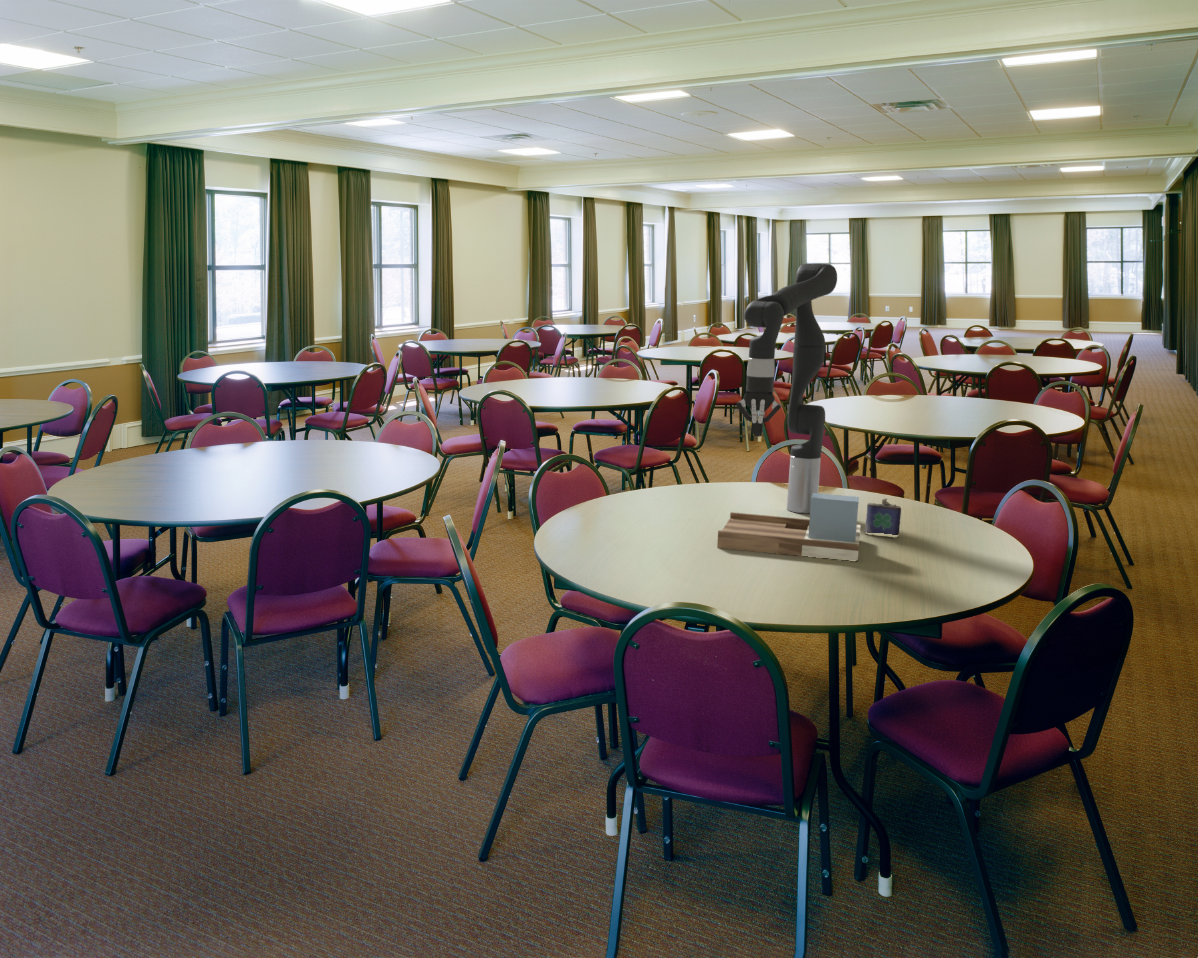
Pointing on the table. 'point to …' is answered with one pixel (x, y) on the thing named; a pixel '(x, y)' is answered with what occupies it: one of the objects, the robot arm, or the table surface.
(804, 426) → the robot arm
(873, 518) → the flask
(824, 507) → the block
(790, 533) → the board
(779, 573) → the table surface
